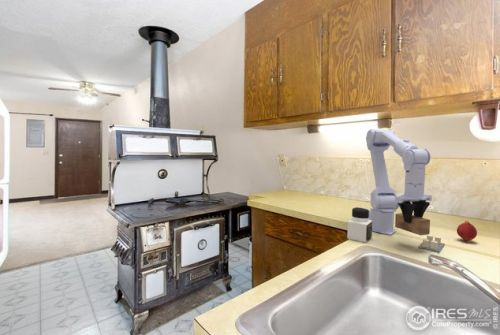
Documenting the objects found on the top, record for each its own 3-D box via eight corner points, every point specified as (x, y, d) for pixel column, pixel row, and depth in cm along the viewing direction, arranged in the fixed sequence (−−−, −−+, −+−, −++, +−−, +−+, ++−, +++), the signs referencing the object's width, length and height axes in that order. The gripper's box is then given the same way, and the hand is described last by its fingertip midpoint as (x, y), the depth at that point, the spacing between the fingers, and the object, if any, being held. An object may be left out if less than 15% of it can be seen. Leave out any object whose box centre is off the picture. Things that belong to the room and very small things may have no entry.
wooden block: (395, 227, 93) (395, 213, 93) (403, 226, 94) (403, 213, 94) (420, 235, 84) (421, 220, 83) (429, 234, 85) (430, 219, 85)
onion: (466, 238, 99) (468, 218, 98) (480, 244, 93) (482, 222, 92) (452, 238, 98) (453, 218, 98) (465, 244, 93) (466, 222, 92)
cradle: (439, 253, 85) (439, 244, 84) (418, 248, 89) (418, 239, 89) (444, 245, 92) (445, 237, 91) (424, 240, 96) (425, 233, 96)
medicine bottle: (366, 243, 93) (367, 211, 93) (347, 238, 98) (347, 208, 97) (371, 238, 99) (373, 208, 98) (353, 234, 103) (354, 205, 103)
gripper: (408, 186, 82) (406, 226, 83) (441, 184, 86) (439, 223, 87) (390, 183, 88) (389, 220, 89) (421, 181, 93) (420, 217, 94)
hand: (412, 221), depth 89 cm, fingers closed on wooden block, 4 cm apart
